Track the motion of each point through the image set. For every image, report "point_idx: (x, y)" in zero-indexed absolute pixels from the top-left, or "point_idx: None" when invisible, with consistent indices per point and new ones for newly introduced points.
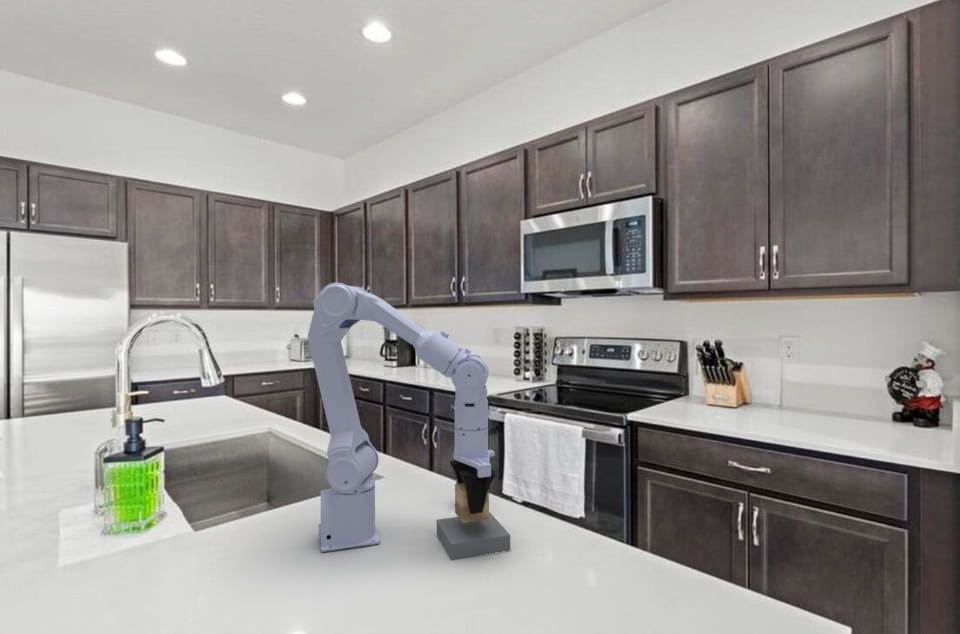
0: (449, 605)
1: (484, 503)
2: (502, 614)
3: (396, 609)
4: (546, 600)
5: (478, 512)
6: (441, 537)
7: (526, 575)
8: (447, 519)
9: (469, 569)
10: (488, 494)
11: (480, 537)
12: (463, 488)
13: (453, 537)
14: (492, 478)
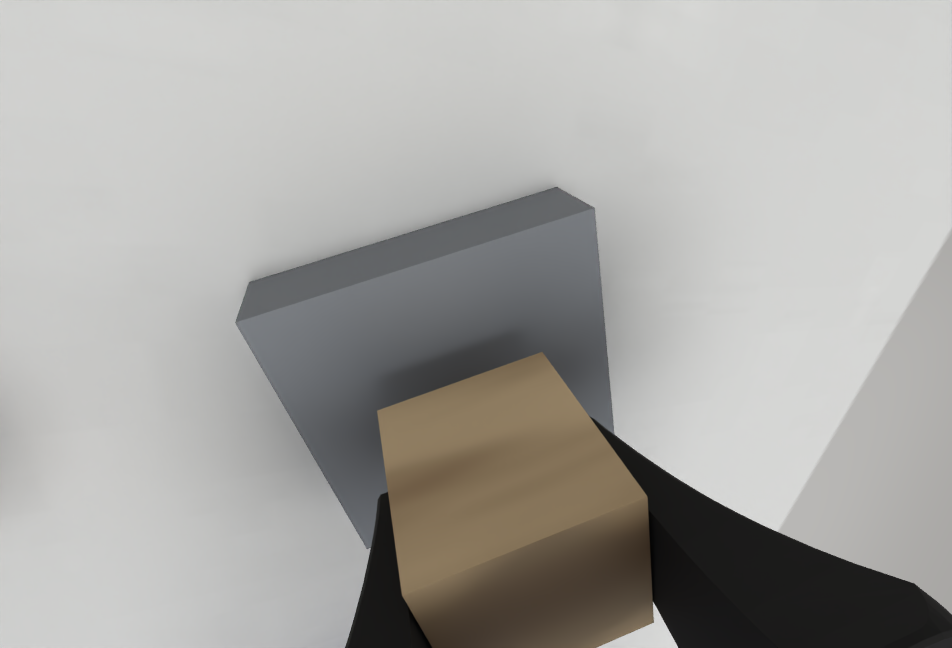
0: (805, 380)
1: (627, 446)
2: (905, 247)
3: (767, 479)
4: (929, 90)
5: None
6: None
7: (768, 139)
8: (365, 512)
9: (659, 349)
10: (622, 464)
11: (585, 355)
12: (573, 639)
13: None
14: (887, 582)
